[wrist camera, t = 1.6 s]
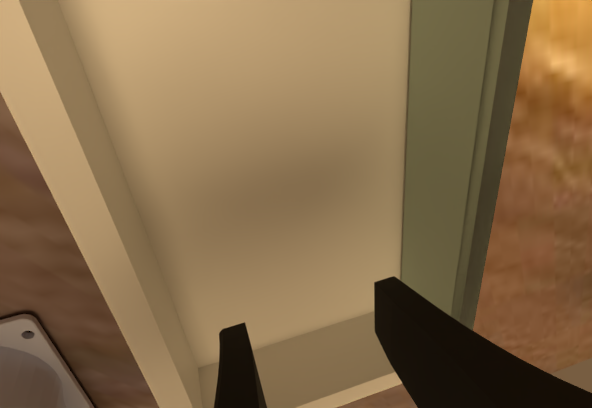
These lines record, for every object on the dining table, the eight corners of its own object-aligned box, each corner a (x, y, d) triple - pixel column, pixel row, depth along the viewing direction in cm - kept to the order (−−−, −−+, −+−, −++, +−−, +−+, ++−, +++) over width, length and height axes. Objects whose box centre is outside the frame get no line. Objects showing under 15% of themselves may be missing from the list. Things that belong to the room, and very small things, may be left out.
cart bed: (397, 296, 27) (448, 366, 22) (179, 366, 24) (186, 461, 19) (413, -143, 15) (529, -187, 10) (-17, -102, 12) (-115, -137, 8)
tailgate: (412, 297, 24) (466, 365, 20) (400, 301, 24) (451, 371, 20) (436, -93, 14) (553, -113, 10) (416, -91, 14) (525, -109, 10)
